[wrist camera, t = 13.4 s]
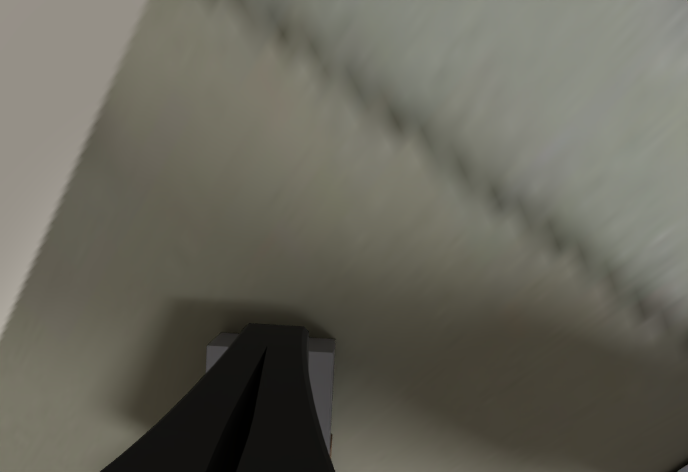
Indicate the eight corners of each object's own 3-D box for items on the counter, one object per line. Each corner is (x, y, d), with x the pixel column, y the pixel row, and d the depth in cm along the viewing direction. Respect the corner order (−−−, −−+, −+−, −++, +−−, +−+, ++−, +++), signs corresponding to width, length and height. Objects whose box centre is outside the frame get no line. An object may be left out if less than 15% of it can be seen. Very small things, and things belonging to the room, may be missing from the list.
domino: (206, 345, 19) (199, 564, 19) (333, 352, 19) (322, 572, 19) (221, 332, 21) (213, 531, 21) (335, 339, 21) (325, 538, 21)
